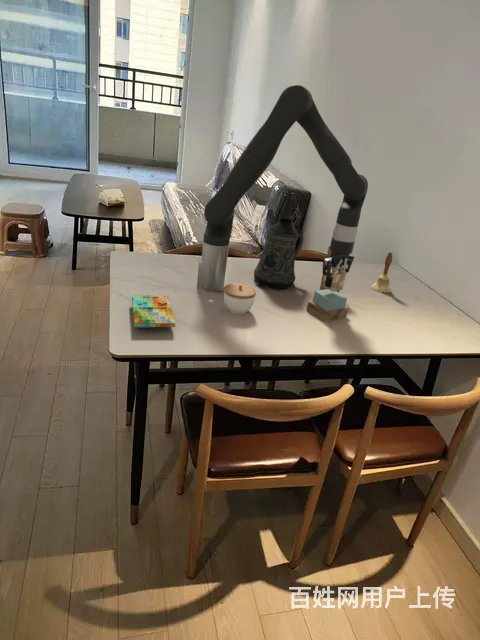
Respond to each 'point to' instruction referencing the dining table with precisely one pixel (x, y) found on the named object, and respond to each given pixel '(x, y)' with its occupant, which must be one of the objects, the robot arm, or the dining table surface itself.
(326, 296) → the tower top
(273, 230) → the beer stein
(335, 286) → the maple block
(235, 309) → the lidded jar
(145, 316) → the puzzle game
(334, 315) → the tower base
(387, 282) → the hand bell
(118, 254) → the dining table surface
